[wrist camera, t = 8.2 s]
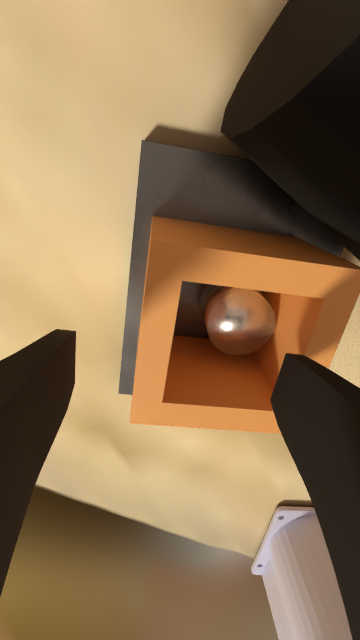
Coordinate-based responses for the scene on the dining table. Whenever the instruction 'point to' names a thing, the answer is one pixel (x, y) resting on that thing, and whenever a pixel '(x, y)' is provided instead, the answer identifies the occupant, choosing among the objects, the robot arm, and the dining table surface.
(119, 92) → the dining table surface
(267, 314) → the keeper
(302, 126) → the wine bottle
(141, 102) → the dining table surface
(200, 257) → the orange hollow block
